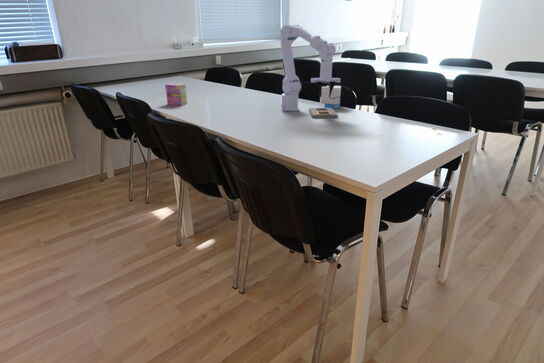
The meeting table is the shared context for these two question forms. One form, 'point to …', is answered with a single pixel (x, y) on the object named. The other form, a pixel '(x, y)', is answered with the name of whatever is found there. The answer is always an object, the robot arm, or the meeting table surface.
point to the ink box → (334, 98)
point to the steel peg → (324, 95)
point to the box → (176, 94)
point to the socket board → (323, 113)
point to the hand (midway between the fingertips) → (324, 96)
